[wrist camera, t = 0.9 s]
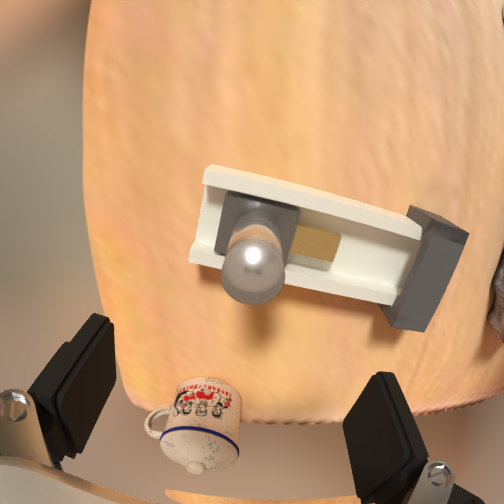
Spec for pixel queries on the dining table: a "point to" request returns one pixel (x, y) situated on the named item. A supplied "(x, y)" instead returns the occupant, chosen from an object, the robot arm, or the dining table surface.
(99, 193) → the dining table surface
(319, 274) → the track
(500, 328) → the geode
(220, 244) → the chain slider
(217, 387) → the teacup with lid
